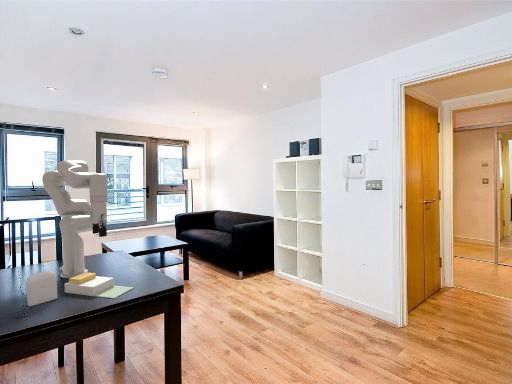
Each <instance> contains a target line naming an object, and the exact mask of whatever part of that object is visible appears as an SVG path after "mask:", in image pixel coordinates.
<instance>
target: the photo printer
mask: <svg viewBox="0 0 512 384" xmlns="http://www.w3.org/2000/svg"><path fill="white" fill-rule="evenodd" d="M57 281H58V280H57V274H56V272H55V271H50V270H49V271H41V272H38V273H35V274H32V275H30V276H28V277H27V278H26V296H27V297H26V299H27V306H28V307H33V306H36V305H40V304H42V303H46V302H49V301H54V300H57V299H58V298H59V297H58V282H57Z"/></svg>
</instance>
